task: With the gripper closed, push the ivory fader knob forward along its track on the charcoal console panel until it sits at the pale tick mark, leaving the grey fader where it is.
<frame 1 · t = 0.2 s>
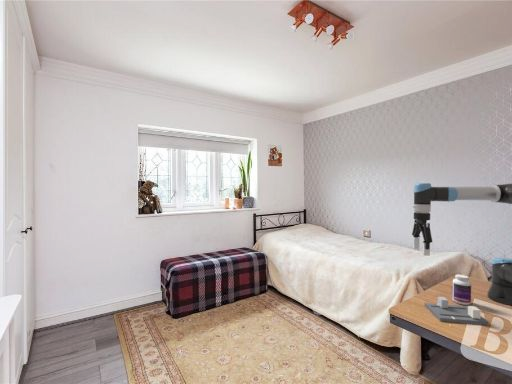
hand: (421, 252, 141), 28 cm above the table, fingers open, 13 cm apart
fader ivory: (474, 312, 124), point 4 cm above the table, slide at 0.0 cm
fader grey: (442, 302, 135), point 4 cm above the table, slide at 9.0 cm
pill bottle: (461, 302, 144), on the table
console: (454, 314, 130), on the table
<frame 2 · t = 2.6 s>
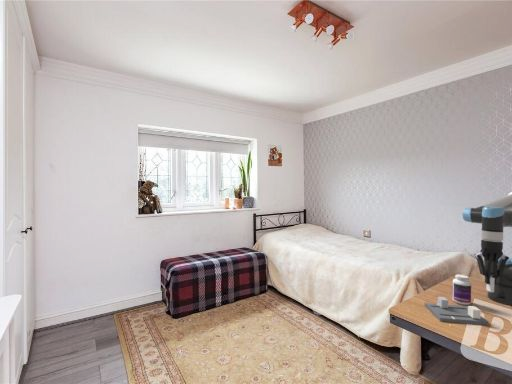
hand: (490, 290, 123), 14 cm above the table, fingers closed
nothing on the table moved.
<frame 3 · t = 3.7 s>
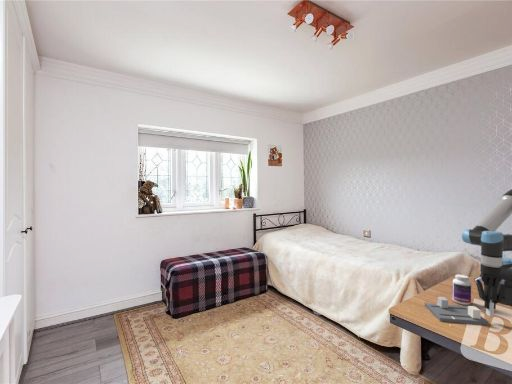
hand: (489, 315, 123), 3 cm above the table, fingers closed
nothing on the table moved.
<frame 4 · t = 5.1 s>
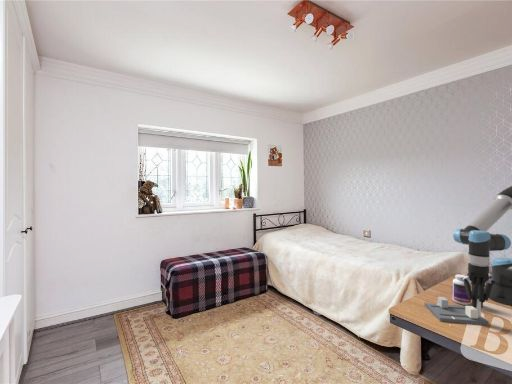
hand: (477, 314, 124), 3 cm above the table, fingers closed
fader ivory: (471, 312, 125), point 4 cm above the table, slide at 1.0 cm, touching gripper
everything else where it was.
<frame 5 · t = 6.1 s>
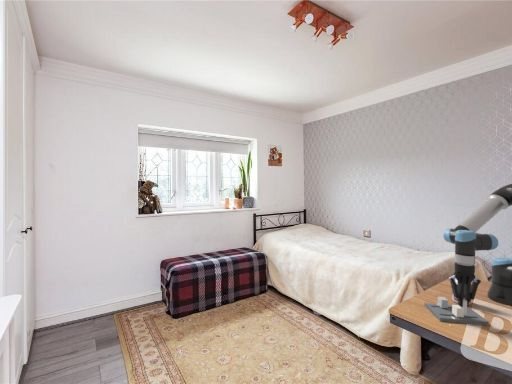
hand: (463, 313, 125), 3 cm above the table, fingers closed
fader ivory: (457, 310, 126), point 4 cm above the table, slide at 6.8 cm, touching gripper
everything else where it was.
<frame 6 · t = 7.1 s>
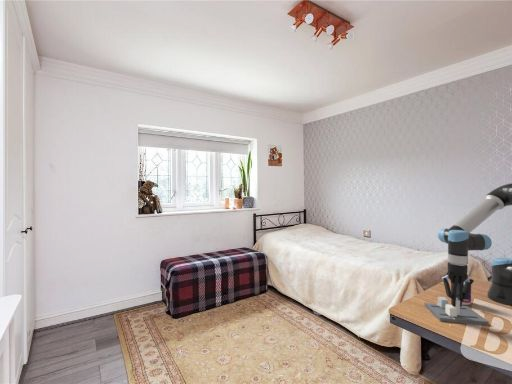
hand: (456, 312, 126), 3 cm above the table, fingers closed
fader ivory: (451, 310, 126), point 4 cm above the table, slide at 9.7 cm, touching gripper
everything else where it was.
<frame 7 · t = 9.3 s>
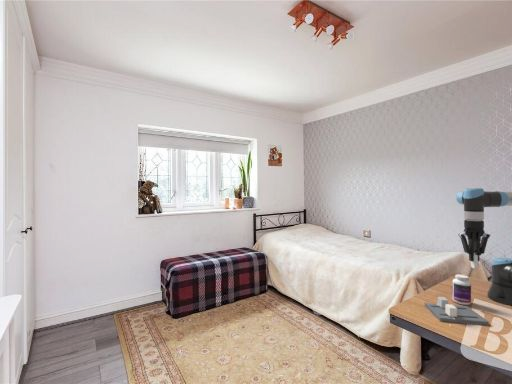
hand: (474, 267, 131), 23 cm above the table, fingers closed
fader ivory: (451, 310, 126), point 4 cm above the table, slide at 9.7 cm
everything else where it was.
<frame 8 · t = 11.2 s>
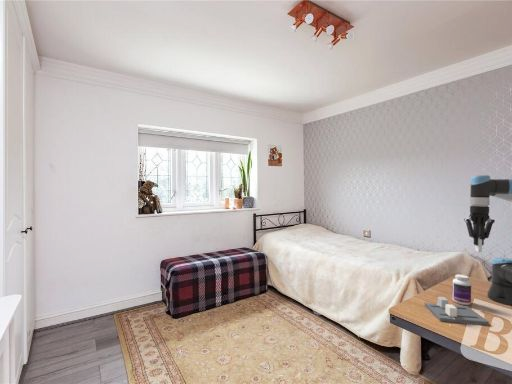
hand: (478, 251, 136), 29 cm above the table, fingers closed
nothing on the table moved.
at the end: fader ivory slide at 9.7 cm; fader grey slide at 9.0 cm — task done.
